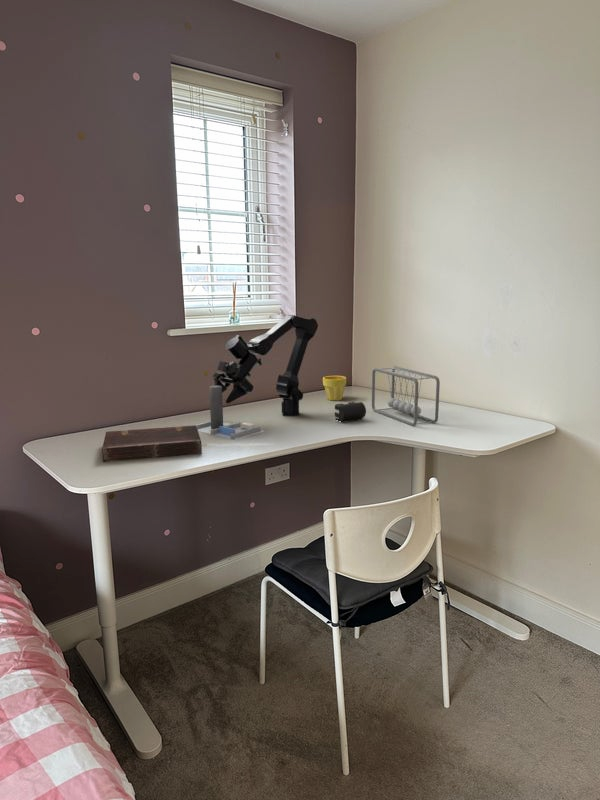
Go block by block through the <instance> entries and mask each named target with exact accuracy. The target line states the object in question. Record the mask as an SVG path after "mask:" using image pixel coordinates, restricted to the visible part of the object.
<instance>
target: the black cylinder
mask: <svg viewBox="0 0 600 800" xmlns="http://www.w3.org/2000/svg"><path fill="white" fill-rule="evenodd" d="M334 410H336V411H338V412H334V417H335V419H334V421H336V420H338V421H337V422H339V421H341V422H340V423H345V421H347V422H353V421H358V420H359V419H360V420H362V419H363V418H365V416H366V415H367V409H366V405H365V404H364V403H363V402H361V401H358V402H355V401H351V402H347V403H345V404H344V403H341V402H340V403H336V404H335V405H334ZM352 420H353V421H352Z"/></svg>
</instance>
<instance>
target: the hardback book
mask: <svg viewBox="0 0 600 800" xmlns="http://www.w3.org/2000/svg"><path fill="white" fill-rule="evenodd" d="M196 425H197V424H194V426H193V425H181V426H168V427H167V426H166V427H153V428H139V429H125V430H112V431H111V430H110V431H109V430H108V431H105V436H104V440H103V444H102V447H101V448H102V449H101V450H102V451H101V453H102V462H103V463H109V462H110V463H111V462H121V461H122V462H123V461H135V460H147V459H156V458H157V459H159V458H169V457H182V456H183V457H184V456H195V455H202V454H203V453H202V452H203V450H202V440H201V436H200V433H199V431H198V430H197V426H196Z"/></svg>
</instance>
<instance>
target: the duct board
mask: <svg viewBox="0 0 600 800" xmlns="http://www.w3.org/2000/svg"><path fill="white" fill-rule="evenodd" d="M241 423H242V422H241V421H237V422H234V423H229V422H224V421H223V426H219V428H216V429H211V420H209V421H206V422H202V423H198V424H197V423H196V424H194V425H196V426H197V430H198V432H200V433H204V434H210V435H213V436H216V437H217V436H218V437H222V438H227V439H231V440H235V441H238V440H241V439H244V438H248V437H251V436H254V435H257V434H261V433H263V432H265V430H262V428H261V427H262V426H261V425H257V426H253V428H250V429H245V428H241ZM194 425H192V426H194Z"/></svg>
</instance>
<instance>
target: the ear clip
mask: <svg viewBox="0 0 600 800" xmlns="http://www.w3.org/2000/svg"><path fill="white" fill-rule="evenodd" d="M253 427H254V424H252V423H248V422H241V428H245V429H250V428H253Z"/></svg>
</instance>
